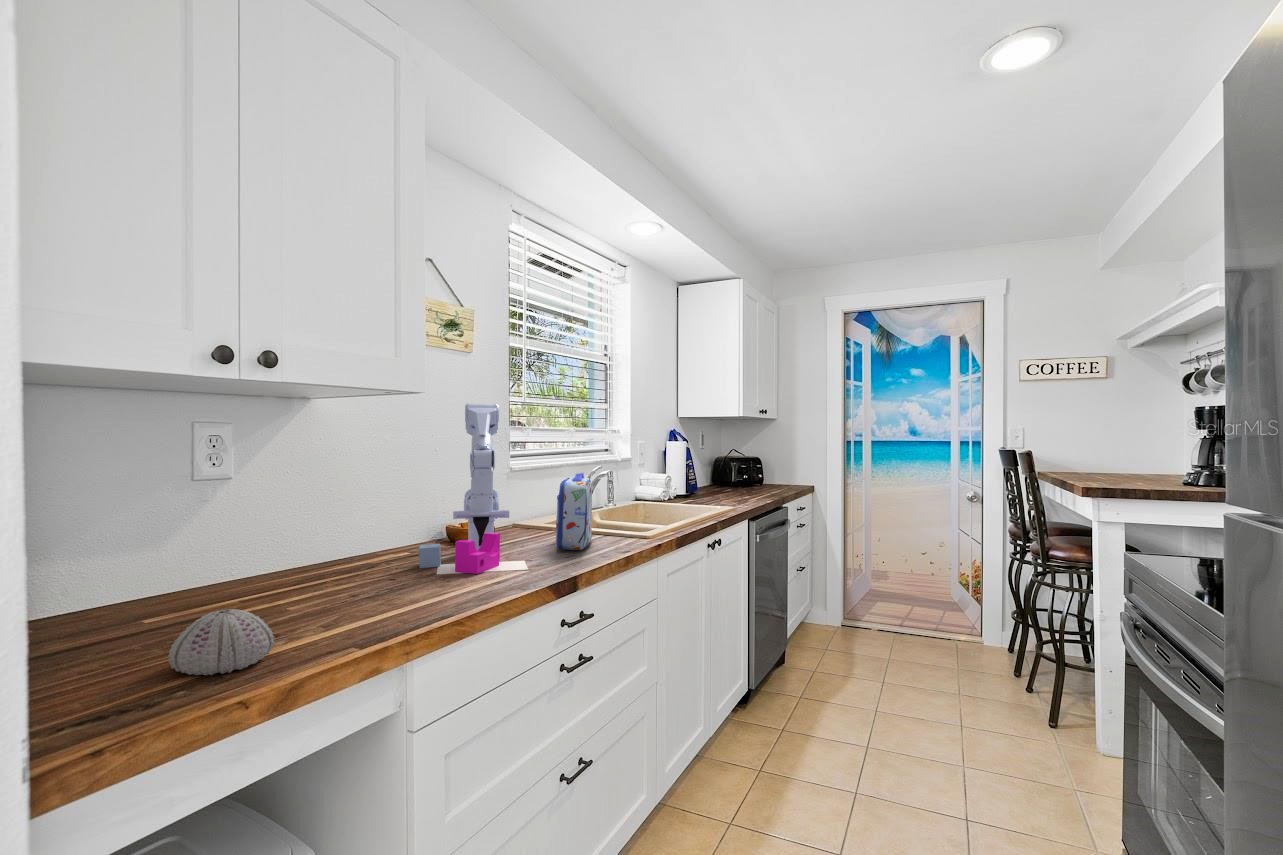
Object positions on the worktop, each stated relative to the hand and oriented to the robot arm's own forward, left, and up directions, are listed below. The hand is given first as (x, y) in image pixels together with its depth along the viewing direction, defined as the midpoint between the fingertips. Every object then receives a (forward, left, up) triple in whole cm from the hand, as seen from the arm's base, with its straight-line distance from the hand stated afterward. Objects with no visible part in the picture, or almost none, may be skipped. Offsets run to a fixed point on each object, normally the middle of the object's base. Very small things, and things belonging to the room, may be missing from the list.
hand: (481, 545), depth 170 cm
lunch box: (-18, +28, -5) cm, 34 cm away
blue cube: (+2, -13, -4) cm, 13 cm away
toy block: (+8, 0, -4) cm, 9 cm away
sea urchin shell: (+67, -39, -5) cm, 78 cm away
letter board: (+8, 0, -4) cm, 9 cm away
